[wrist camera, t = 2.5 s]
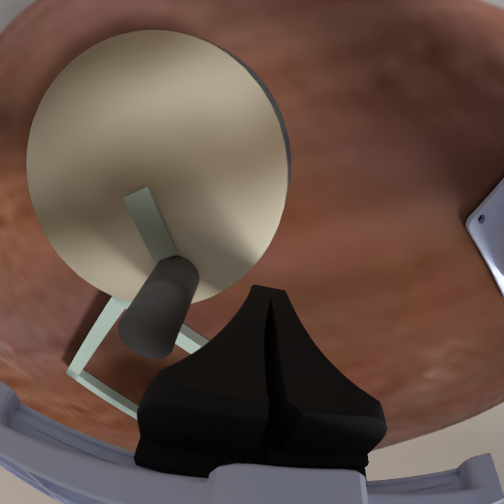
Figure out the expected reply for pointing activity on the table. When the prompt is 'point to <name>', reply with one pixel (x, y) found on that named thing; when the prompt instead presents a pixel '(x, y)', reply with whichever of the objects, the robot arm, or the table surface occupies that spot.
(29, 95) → the table surface
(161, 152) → the disc
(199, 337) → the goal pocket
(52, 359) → the table surface
